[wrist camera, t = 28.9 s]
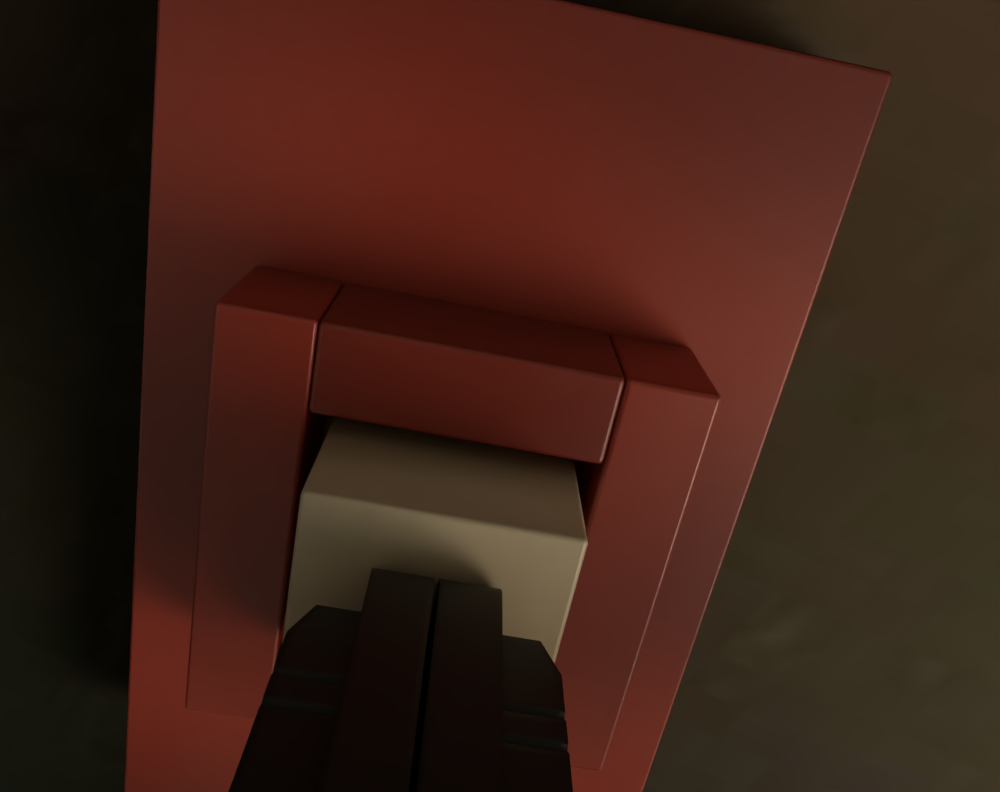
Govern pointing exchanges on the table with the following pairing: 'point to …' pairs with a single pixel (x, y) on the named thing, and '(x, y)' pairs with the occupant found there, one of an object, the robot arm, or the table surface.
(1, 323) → the table surface
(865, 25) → the table surface
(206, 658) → the tiered block stand
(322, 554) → the cube block
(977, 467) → the table surface
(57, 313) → the table surface
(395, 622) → the robot arm
